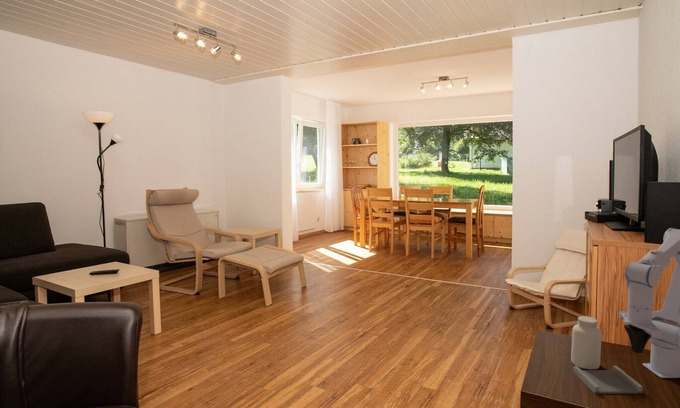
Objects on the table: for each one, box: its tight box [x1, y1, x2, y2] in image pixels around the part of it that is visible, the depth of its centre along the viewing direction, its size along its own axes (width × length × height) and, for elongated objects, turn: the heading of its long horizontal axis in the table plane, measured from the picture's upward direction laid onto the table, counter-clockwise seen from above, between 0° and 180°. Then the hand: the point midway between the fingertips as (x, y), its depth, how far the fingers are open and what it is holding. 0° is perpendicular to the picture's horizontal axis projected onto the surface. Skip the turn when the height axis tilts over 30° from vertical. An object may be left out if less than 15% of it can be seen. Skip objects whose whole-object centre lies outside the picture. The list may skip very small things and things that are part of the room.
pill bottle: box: [570, 315, 603, 370], centre depth 131 cm, size 8×8×15 cm
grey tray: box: [572, 365, 643, 395], centre depth 121 cm, size 13×12×2 cm
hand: (637, 351), depth 117 cm, fingers closed
